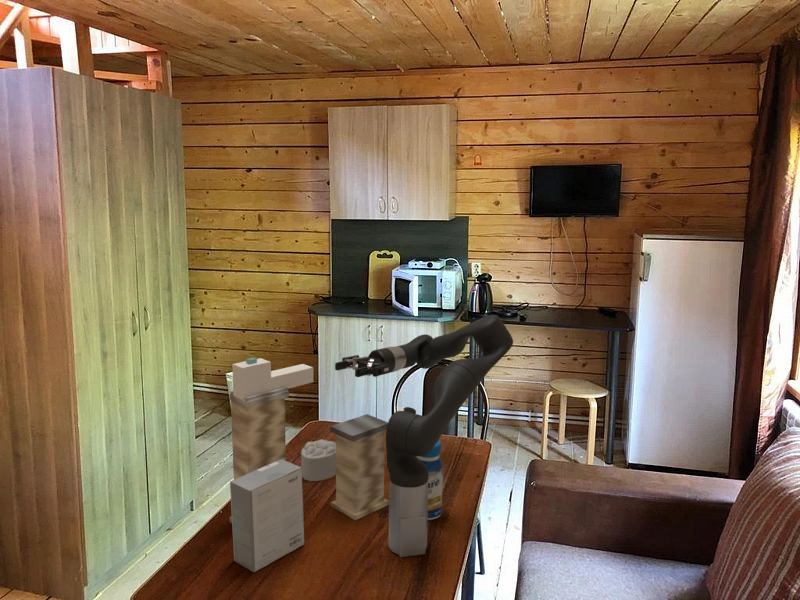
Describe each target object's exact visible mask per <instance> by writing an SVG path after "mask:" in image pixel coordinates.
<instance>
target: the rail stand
mask: <svg viewBox="0 0 800 600" xmlns="http://www.w3.org/2000/svg"><path fill="white" fill-rule="evenodd" d="M229 392H230V393H229V400H230V411H231V412H230V414H231V416H230V417H231V438H232V439H231V440H232V441H231V442H232V466H233V467H232V468H233V469H232V471H233V480H235V479H237V478H239V477H242V476H244V475H246V474H249V473H251V472H253V471H255V470H257V469H260V468H262V467H264V466H267V465H269V464H271V463H274V462H276V461H278V460H281V459H282V460H285V461H287V456H286V454H287V451H286V449H287V447H286V405H285V403H286V402H285V399H286V398H289V397H290V391H289V389H288V388H287V387H285V388H281V389H277V390H273V391H269V392H266V393H262V394H258V395H254V396H250V397H246V398H245V400H242V399H240V398H237V397H235V396H233V390H230V391H229ZM229 523H230V524H232V516H229Z"/></svg>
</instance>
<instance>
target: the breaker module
mask: <svg viewBox="0 0 800 600" xmlns="http://www.w3.org/2000/svg"><path fill="white" fill-rule="evenodd" d="M231 367H232V391H233V396H235V397H237V398H240V399H242V400H245V398H246V397H250V396H254V395H258V394H262V393H266V392H269V391H273V390H277V389H281V388H285V387H287V388H288V390H289V389H291V388H292V389H294V388H296V387H297V388H298V387H300V386H305V385H308V384H311V383H314V367H313V366H309V365H307V364H305V363H302V364H301V363H300V364H296V365H293V366H287V367H284V368H278V369H274V370H272V363H271V361H269V360H266V359H264V358H261V357H260V358H256V357H250V358H249V357H248V358H246V359H245V361H239V362H236V363H232V366H231Z"/></svg>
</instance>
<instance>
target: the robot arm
mask: <svg viewBox="0 0 800 600" xmlns="http://www.w3.org/2000/svg"><path fill="white" fill-rule="evenodd" d="M470 337H472V338H473V340H474V342H475V343H476V345H477V346H478V348H479V349H480V351H481V352H482V355H481V356H480V357H477V358H459V359H456V360H453V361H451V362H450V363H449V364H448V365H447V366H446V367H445V368H444V369H443V370H442V371H441V373H440V374H439V375H438V376H437V378H436V380H435V382H434V389H433V391H434V401H435V403H434V406H433V407H432V409H431V410H430V411H429V412H428V413H427V414H425V415H422V414H417V413H416V414H414V413H410V412H406V411H398V410H397V411H395V412H394V413H392V414H391V416H390V418H389V419H388V421H387V422H388V424H387V429H386V430H385V453H386V468H387V472H388V473H389V474H388V476H389V479H388V480H389V482H388V483H389V484H388V487H389V489H388V500H389V505H388V548H389V550H390V551H391V552H392V553H394V554H397V555H398V557H399V558H406V557H413V556H422V555H425V554H426V549H427V547H428V520H427V515H428V476H429V472H428V468H427V466H426V465H425V464H424V463H423V462H422V461H420V460H419V459H418V458H417V457H416V456H425V455H427V454H428V453H429V452H430V451H431V450H432V449H433V447H434V446H435V445H436V443H437V441H438V440H439V441H440V438H441V437H442V435H443V433H444V432H445V430H446V428H447V426H448V425H449V424H450V422H451V420H453V418H454V416H455V415H456V414H457V412H458V411H459V410H460V409H461V407H462V406H463V404H464V403H465V402H466V401H467V400H468V399H469V398H470V397H471V395H472V394H473V393H474V391H475V390H476V389H477V387H479V385H480V383H481V382H482V380H483V379H484V378H485V377H486V375H487V374H488V373H489V372H490V371H491V369H493V367H494V366H495V365H496V364H497V363H499V361H500V360H501V359H502V358H504V356H506V354H507V353H508V352H509V351H510V350H511V349H512V347H513V344H514V339H513V336H512V335H511V333H510V331H509V330H508V328H507V326H506V324H504V322H503V321H502V319H501V318H500V316H498V315H497V314H490V315H485V316H484V317H481V318H478V319H477V320H475V321H472V322H470V323H469V324H467V325H464V326H462V327H460V328H458V329H456V330H455V331H452V332H450V333H446V334H442V335H439V336H435V337H434V338H433V337H432V336H431V335H429V334H426V333H425V334H421V335H418V336H416V337H414V338H413V339H412V340H410V341H409V342H407V343H405V344H400V345H397V346H396V345H395V346H388V347H384V348H378V349H373V350H372V351H371V352H370V353H369V355H368V356H360V355H359V354H356V355H350V356H344V357H342V358H341V360H342V361H338V362H335V363H334V370H335V371H342V370H346V369H352V370H354V376H355V378H360V377H364V376H368V377H370V376H372V377H374V378H376V377H379V376H383V375H388V374H391V373H394V372H398V371H400V370H404V369H408V368H410V367H413V366H415V365H417V366H418V367H419V368H420V369H423V370H425V369H426V370H427V369H430V368H433V367H435V366H436V365H437V364H439V363H440V362H441V361H442V360H445V359H448V358H454V357H456V356H458V355H460V354H461V353H462V352H463V351H464V349H465V347H466V346H467V343H468V341H469V339H470Z"/></svg>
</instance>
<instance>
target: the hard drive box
mask: <svg viewBox="0 0 800 600" xmlns="http://www.w3.org/2000/svg"><path fill="white" fill-rule="evenodd" d="M229 487H230V488H229V489H230V506H231V508H230V509H231V517H232V523H231V525H232V541H233V542H232V544H233V561H234V562H236V563H237V564H238V565H241V566H242V567H244V568H246V569H248V570H249V571H250V572H252V573H256V572H257V571H259V570H261V569H263V568H264V567H267V566H269V565H270V564H271V563H273V562H275V561H277V560H278V559H280V558H282V557H284V556H286V555H287V554H290V553H291V552H294V551H295V550H297V549H298V548H300V547H302V546H304V545H305V529H304V528H305V527H304V496H303V494H304V492H303V489H304V488H303V478H302V468H301V466H299V465H296V464H294V463H292V462H289V461H287V460H286V461H285V460H282V459H281V460H278V461H276V462H274V463H271V464H269V465H267V466H264V467H262V468H260V469H257V470H255V471H253V472H251V473H249V474H246V475H244V476H242V477H239V478H237V479H235V480H234V479H233V480H230V481H229Z"/></svg>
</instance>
